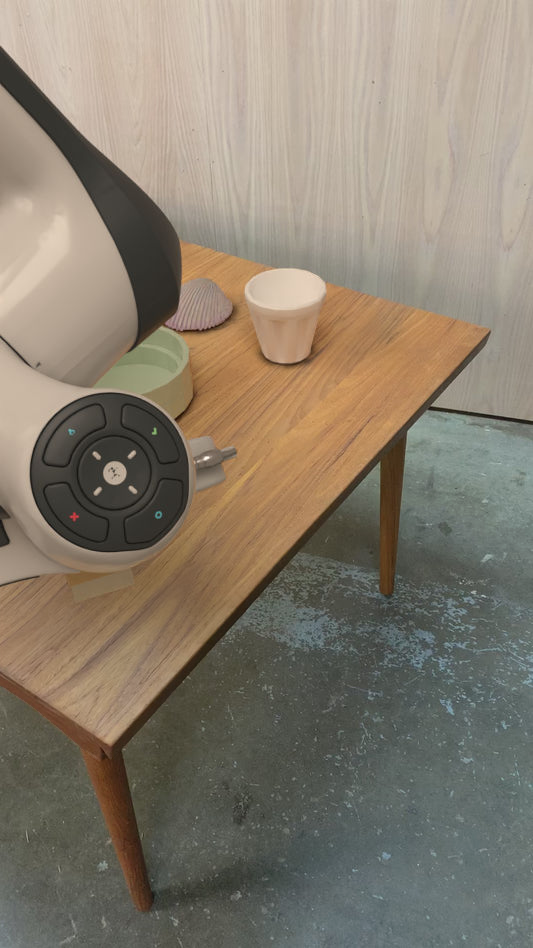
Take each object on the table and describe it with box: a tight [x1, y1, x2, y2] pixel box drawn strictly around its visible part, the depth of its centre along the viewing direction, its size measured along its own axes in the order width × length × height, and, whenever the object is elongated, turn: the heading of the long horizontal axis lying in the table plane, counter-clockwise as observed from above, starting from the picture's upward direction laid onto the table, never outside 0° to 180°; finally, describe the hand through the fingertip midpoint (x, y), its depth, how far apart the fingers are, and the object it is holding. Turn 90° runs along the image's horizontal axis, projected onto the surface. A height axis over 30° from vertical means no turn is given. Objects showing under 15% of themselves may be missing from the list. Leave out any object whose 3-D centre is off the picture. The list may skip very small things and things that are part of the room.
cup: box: [243, 267, 327, 366], centre depth 97 cm, size 10×10×9 cm
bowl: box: [92, 325, 194, 420], centre depth 92 cm, size 15×15×6 cm
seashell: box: [162, 277, 233, 332], centre depth 107 cm, size 10×6×10 cm
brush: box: [65, 567, 135, 604], centre depth 61 cm, size 5×5×14 cm
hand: (80, 510), depth 62 cm, fingers closed on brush, 2 cm apart
